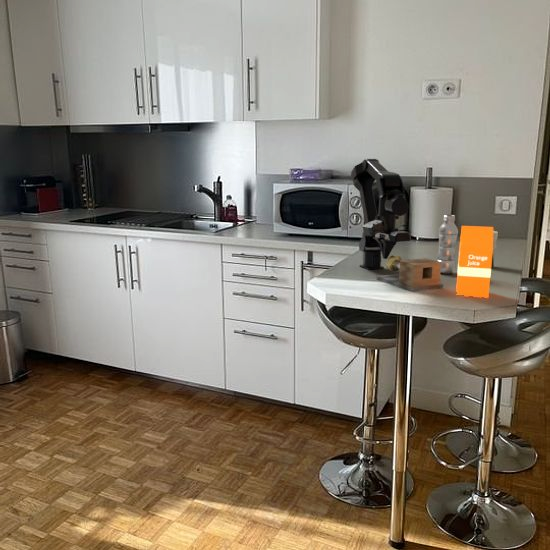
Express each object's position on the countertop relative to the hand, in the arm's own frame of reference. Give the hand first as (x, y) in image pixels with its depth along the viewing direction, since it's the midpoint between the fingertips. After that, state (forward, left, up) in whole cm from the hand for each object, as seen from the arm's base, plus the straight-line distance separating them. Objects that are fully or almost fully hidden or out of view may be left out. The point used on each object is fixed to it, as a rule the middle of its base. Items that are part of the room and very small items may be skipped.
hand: (385, 258), depth 185 cm
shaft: (+10, 0, -3) cm, 11 cm away
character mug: (+3, +42, -6) cm, 43 cm away
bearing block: (+13, 0, -6) cm, 14 cm away
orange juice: (+31, +9, -6) cm, 33 cm away
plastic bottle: (+6, +21, -6) cm, 23 cm away
